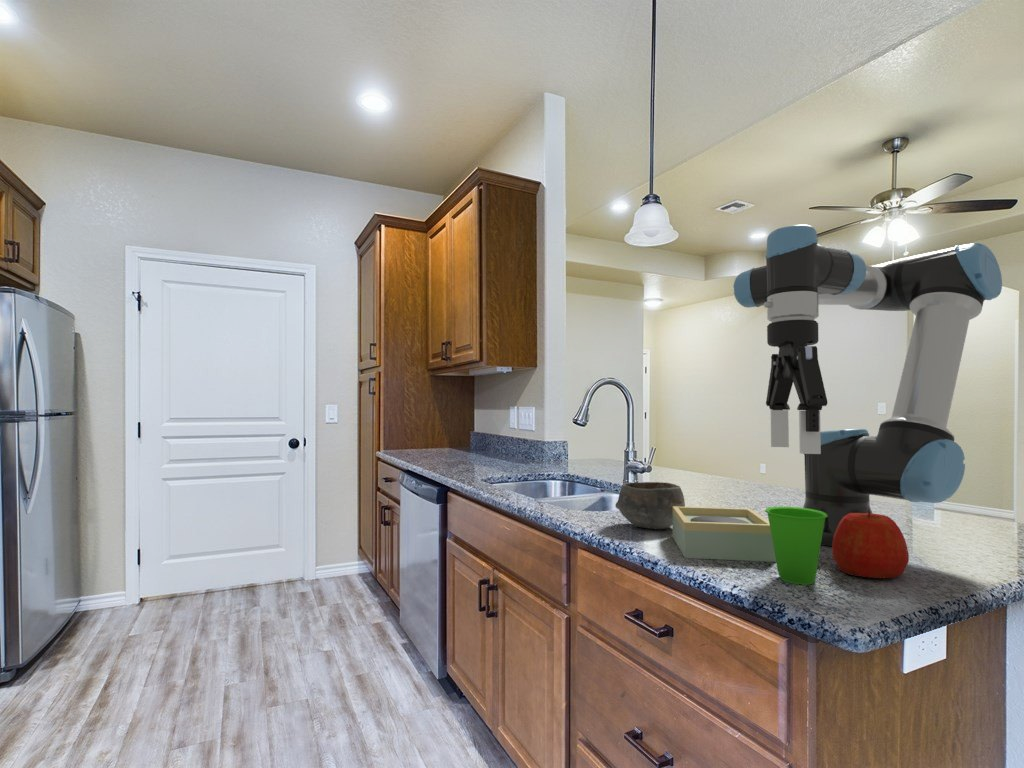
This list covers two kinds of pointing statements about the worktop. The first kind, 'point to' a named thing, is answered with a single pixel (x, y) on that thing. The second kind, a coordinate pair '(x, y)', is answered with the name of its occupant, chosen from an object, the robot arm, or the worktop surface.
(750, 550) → the open box
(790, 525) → the cup
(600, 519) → the worktop surface
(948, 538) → the worktop surface
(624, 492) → the bowl
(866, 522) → the apple
